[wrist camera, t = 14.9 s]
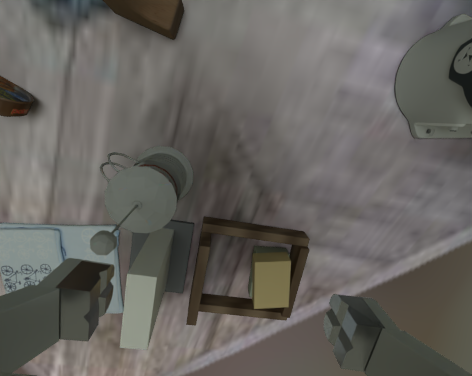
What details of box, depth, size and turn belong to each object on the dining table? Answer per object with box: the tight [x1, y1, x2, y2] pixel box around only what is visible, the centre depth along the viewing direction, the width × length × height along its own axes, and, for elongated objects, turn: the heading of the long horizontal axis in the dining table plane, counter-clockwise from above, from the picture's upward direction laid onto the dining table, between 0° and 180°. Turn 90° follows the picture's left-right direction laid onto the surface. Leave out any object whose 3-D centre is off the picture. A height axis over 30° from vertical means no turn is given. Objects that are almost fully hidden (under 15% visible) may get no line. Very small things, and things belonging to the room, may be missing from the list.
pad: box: [129, 220, 194, 293], centre depth 46 cm, size 10×14×1 cm
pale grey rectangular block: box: [120, 228, 174, 350], centre depth 39 cm, size 4×11×14 cm, turn 169°
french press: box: [90, 146, 193, 255], centre depth 31 cm, size 10×12×25 cm
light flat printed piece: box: [0, 223, 124, 313], centre depth 46 cm, size 19×20×2 cm
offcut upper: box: [252, 252, 291, 309], centre depth 45 cm, size 6×9×3 cm, turn 1°
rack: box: [186, 217, 309, 325], centre depth 45 cm, size 18×17×8 cm
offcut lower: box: [248, 246, 290, 297], centre depth 48 cm, size 6×9×3 cm, turn 173°
